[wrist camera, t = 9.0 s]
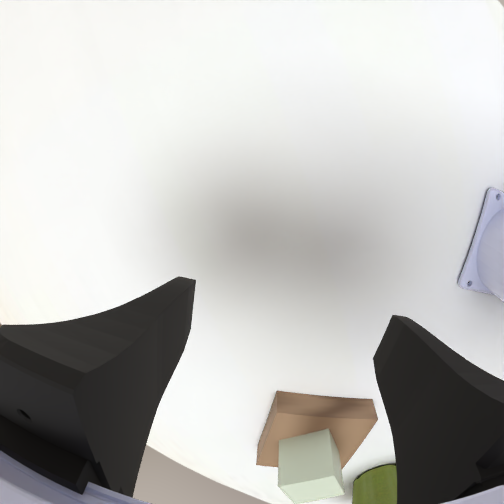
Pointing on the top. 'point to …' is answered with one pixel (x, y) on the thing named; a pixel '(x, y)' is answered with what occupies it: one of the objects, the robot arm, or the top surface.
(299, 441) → the sage block
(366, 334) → the top surface
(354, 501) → the plant pot
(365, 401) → the brown square block
